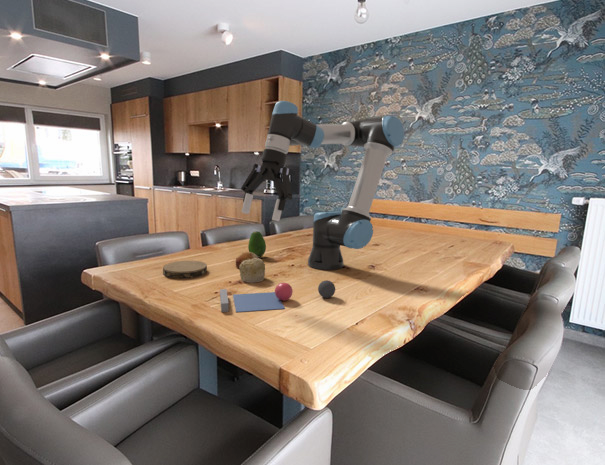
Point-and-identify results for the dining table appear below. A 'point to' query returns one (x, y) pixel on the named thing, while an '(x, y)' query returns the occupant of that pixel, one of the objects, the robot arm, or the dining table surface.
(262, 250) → the fruit
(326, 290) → the dark gray ball
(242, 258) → the bread roll
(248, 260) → the coral
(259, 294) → the blue flat square slab
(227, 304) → the wall
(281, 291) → the red object ball
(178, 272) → the round stone disc
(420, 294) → the dining table surface
